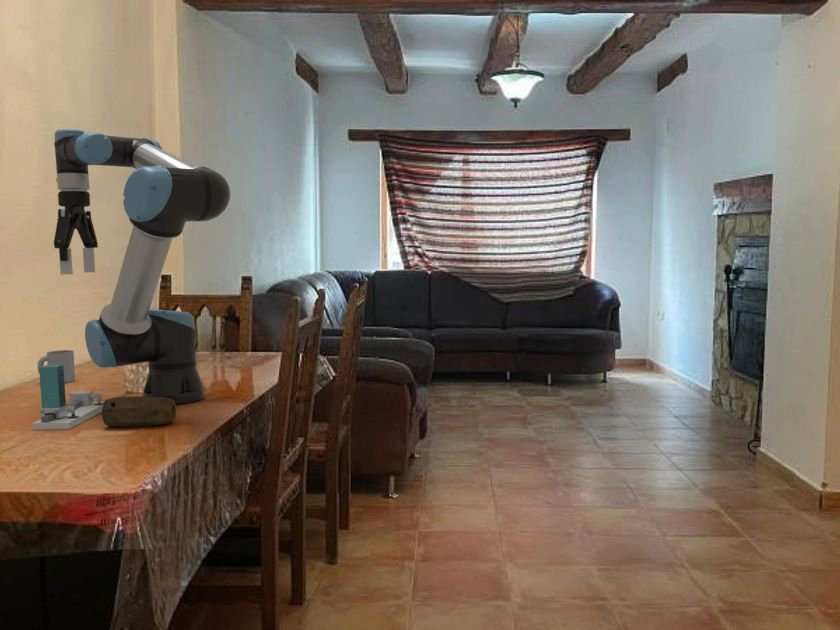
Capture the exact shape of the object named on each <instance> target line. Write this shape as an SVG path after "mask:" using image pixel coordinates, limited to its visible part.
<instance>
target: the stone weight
mask: <svg viewBox="0 0 840 630" xmlns="http://www.w3.org/2000/svg"><path fill="white" fill-rule="evenodd" d="M103 402H104V405H103V409H102V412H101V416H102V422H103V423H104V425H106V426H108V427H115V428H132V427H134V428H135V427H136V428H137V427H150V426H151V427H152V426H153V427H154V426H158V425H165V424H170V423H172V422H173V421H174V420H175V418H176V415H177V407H176V406H177V404H175V401H174V400H172V399H169V398H164V397H146V396H143V395H142V396H116V397H110V398H106V399H105V400H104V401H103Z"/></svg>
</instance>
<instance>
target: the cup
mask: <svg viewBox="0 0 840 630" xmlns="http://www.w3.org/2000/svg"><path fill="white" fill-rule="evenodd" d="M74 355H75V353H74V350H71V349H64V350H61V349H60V350H52V351H47V352H46V355H44V356H41V357H40V358H39V360H38V361H37V371H38V374H39V375H40V373H39V367H42V366H45V365H44V364H45V362H47V363H46V365H64V381H65V384H69V382H70V383H73V382H75V380H76V371H75V370H76V369H75V356H74Z"/></svg>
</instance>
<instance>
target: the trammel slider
mask: <svg viewBox="0 0 840 630" xmlns="http://www.w3.org/2000/svg"><path fill="white" fill-rule="evenodd" d="M39 373H40V374H39ZM38 374H39V387H40V401H41V402H40V403H41V407H39V413H40V418H41V417H42V416H44V415H47V414H49V413H55V418H62V417H64V416H66V415H68V411H69V410H71V415H72V416H75V410H76V406H68V403H67V399H66V387H65V386H66V383H65V381H64V365H47V364H46V365H44V366H42V367H39V372H38Z"/></svg>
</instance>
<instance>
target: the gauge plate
mask: <svg viewBox="0 0 840 630" xmlns="http://www.w3.org/2000/svg"><path fill="white" fill-rule="evenodd" d="M68 395H69V396H68V397H69V404H68V403H67V404H68V406H76V410H75V416H72V415H71V410H69V411H68V415H66V416H64V417H62V418H55V413H49V414H47V415H44V416H42V417H41V416H40V419H38V420H37V421H35V422H32V423H31V424H32V431H43V430H44V431H46V430H47V431H48V430H49V431H50V430H51V431H52V430H53V431H54V430H55V431H56V430H57V431H58V430H71V429H73V428H75V427H76V426H78V425H80V424H83V423H84V422H86V421H88V420H89V419H92V418H93V417H95V416H97V415H99V414H102V409H103V405H104V401H101V398H102V397H103V395H102V393H94V391H93V390H84V391H83V390H82V391H80V390H79V391H77V390H75V391H72V392H70V393H69V394H68ZM94 399H97V401H94Z"/></svg>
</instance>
